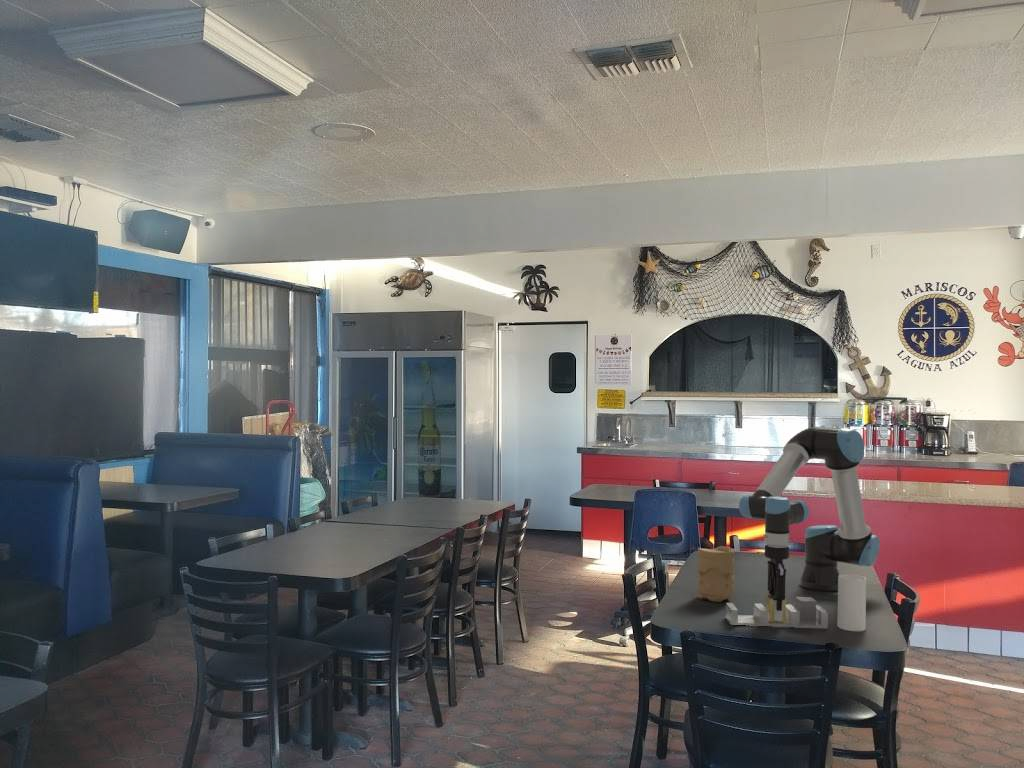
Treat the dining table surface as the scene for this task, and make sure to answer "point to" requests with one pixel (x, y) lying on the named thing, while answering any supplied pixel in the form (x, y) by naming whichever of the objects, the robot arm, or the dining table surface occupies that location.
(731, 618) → the white slotted rack
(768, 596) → the tan wooden cube
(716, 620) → the dining table surface
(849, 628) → the cup
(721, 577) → the container
